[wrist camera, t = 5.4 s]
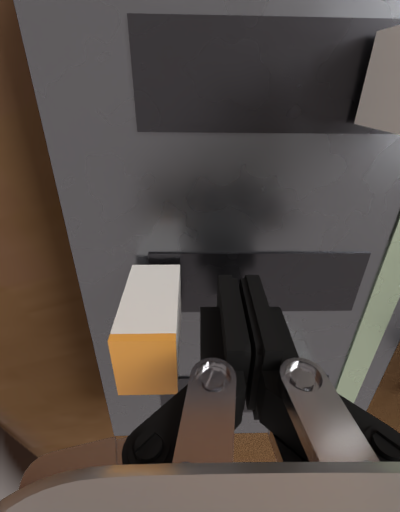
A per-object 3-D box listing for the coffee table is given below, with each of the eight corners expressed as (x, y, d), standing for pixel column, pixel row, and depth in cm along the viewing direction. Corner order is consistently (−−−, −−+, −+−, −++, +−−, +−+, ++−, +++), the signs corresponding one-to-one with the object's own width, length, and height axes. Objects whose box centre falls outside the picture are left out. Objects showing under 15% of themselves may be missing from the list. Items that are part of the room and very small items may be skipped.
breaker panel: (501, -49, 10) (609, -95, 8) (337, 390, 22) (357, 432, 20) (40, -61, 10) (-16, -114, 7) (123, 394, 22) (113, 437, 19)
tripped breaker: (180, 264, 13) (175, 340, 9) (181, 310, 14) (177, 394, 10) (132, 264, 13) (107, 341, 9) (137, 311, 14) (118, 395, 10)
